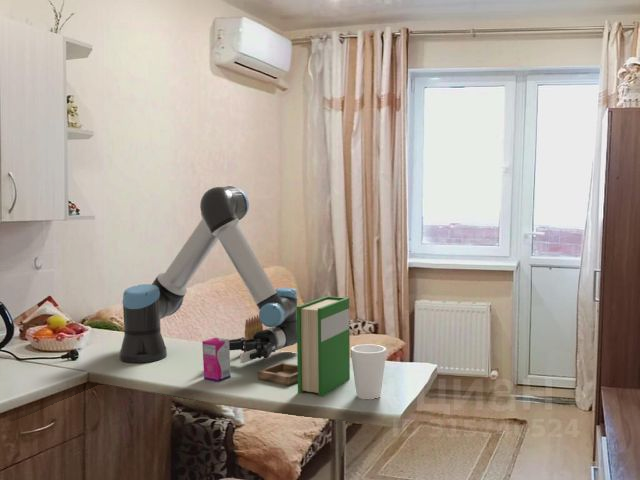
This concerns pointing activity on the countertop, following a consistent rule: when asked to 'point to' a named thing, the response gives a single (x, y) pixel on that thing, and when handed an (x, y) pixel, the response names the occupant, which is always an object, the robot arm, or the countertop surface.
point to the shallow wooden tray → (280, 374)
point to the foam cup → (368, 369)
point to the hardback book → (323, 344)
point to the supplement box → (216, 359)
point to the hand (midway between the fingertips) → (223, 355)
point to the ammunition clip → (252, 327)
